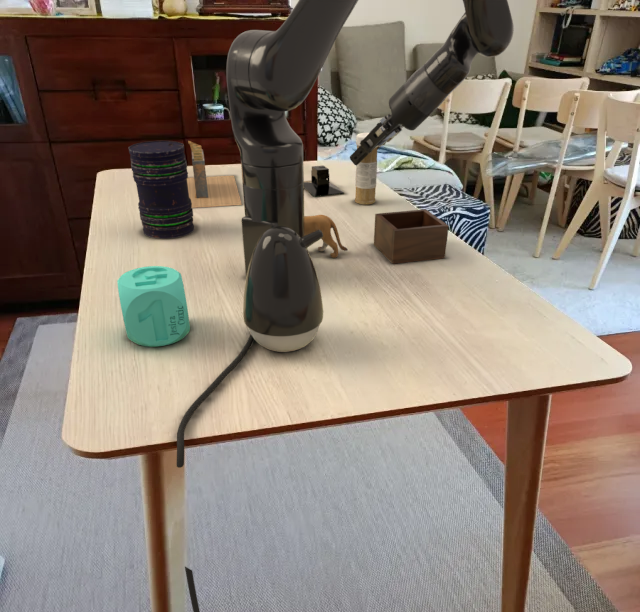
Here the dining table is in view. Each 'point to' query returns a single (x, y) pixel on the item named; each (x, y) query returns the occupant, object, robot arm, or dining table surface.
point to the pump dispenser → (283, 291)
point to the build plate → (321, 183)
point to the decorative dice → (153, 306)
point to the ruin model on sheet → (199, 171)
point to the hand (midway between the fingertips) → (359, 157)
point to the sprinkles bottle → (366, 174)
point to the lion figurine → (324, 232)
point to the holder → (410, 236)
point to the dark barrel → (162, 188)
